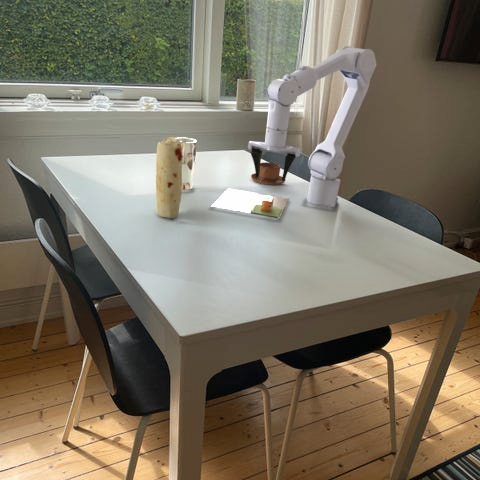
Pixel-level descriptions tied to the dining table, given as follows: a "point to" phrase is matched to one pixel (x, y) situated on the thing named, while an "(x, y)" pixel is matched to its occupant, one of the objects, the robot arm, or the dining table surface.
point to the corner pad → (274, 212)
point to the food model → (169, 177)
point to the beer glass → (188, 161)
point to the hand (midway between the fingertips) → (270, 178)
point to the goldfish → (267, 204)
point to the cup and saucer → (268, 174)
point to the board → (246, 201)
